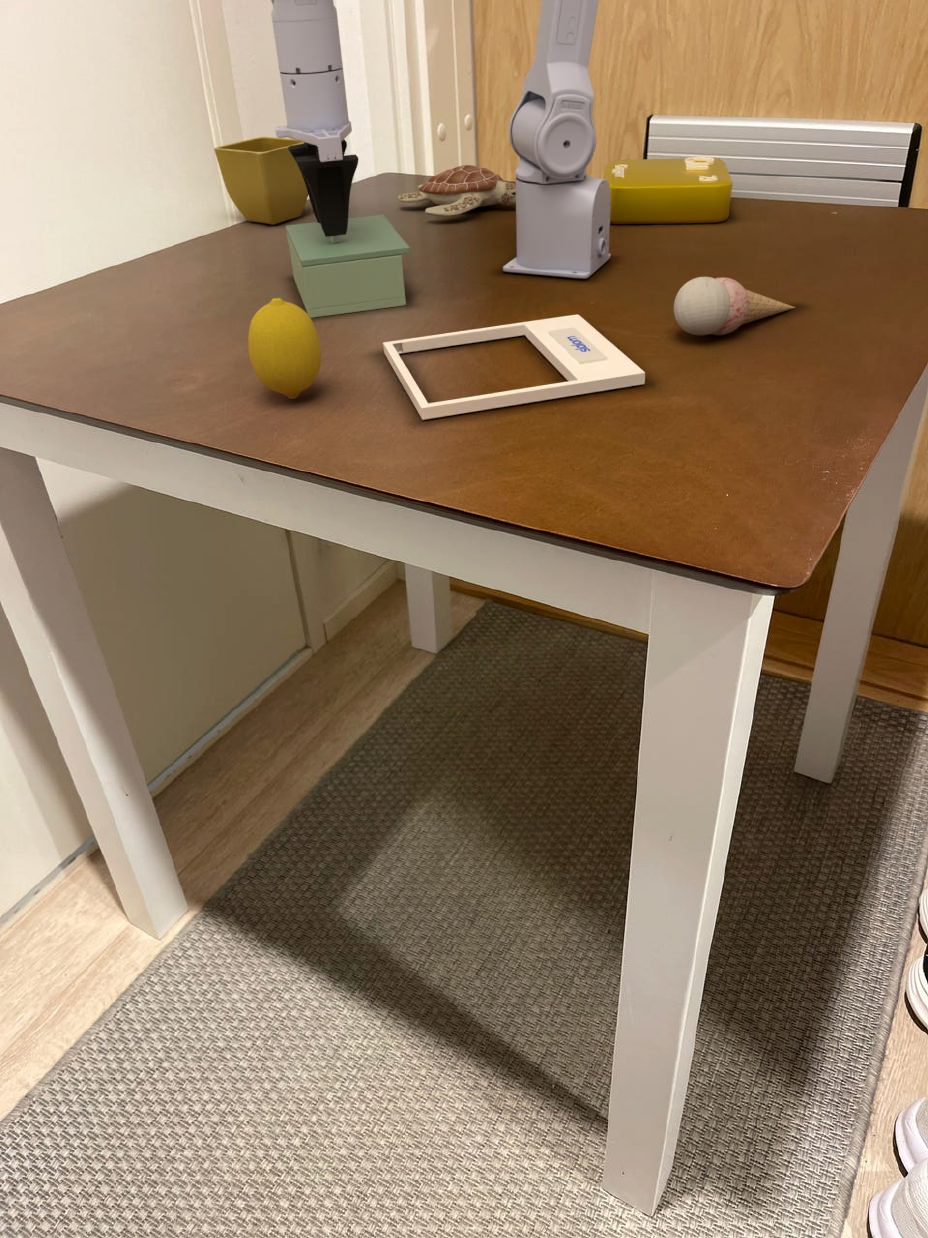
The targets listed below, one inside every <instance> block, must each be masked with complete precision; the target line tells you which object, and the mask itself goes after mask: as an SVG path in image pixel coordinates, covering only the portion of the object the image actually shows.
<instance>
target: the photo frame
mask: <svg viewBox="0 0 928 1238" xmlns="http://www.w3.org/2000/svg"><path fill="white" fill-rule="evenodd" d="M519 336H525V337H526V338H527V340H528V341H530V343H531V344H532V345H533V346H534V347H535V348H536V349H537V350H538V351H539V353H541V354H542V355H543V356H544V357H545V358H546V360H548V362H550V363H551V365H552V366H553V367H554V368H555V369H556V370H557V371H558V372H559V373H560V374H561V375H562V377H564V378H565V380H567V381H563V382H555V383H550V384H543V385H536V386H531V387H524V388H518V389H511V390H505V391H500V392H499V391H498V392H492V393H486V394H485V393H484V394H480V395H473V396H468V397H460V398H455V399H449V400H442V401H441V400H440V401H435V402H428V401H427V399H426V397H425V396H424V394H423V392H422V391H421V389H420V388H419V385H418V384H417V383H416V381H415V379H414V377H413V376H412V374H411V373H410V371H409V369H408V367H407V366H406V364H405V362H404V361H403V359H402V357H401V356H400V354H405V353H411V352H419V351H426V350H433V349H439V348H445V347H451V346H458V345H459V346H460V345H466V344H472V343H479V342H487V341H493V340H500V339H507V338H513V337H519ZM382 345H383V346H382V347H383V353H384V355H385V357H386V359H387V361H388V363H389V364H390V366H391V367H392V370H393V371H394V373H395V375H396V376H397V378H398V380H399V381H400V383H401V385H402V387H403V389H404V390H405V392H406V395H408V398H409V399H410V401H411V402H412V405H413V406H414V408H415V410H416V411H417V413H418V414H419V416H420V419H421V420H422V421H424V420H430V419H436V418H442V417H449V416H454V415H460V414H466V413H473V412H478V411H486V410H492V409H499V408H504V407H509V406H517V405H523V404H529V403H534V402H542V401H547V400H553V399H554V400H555V399H559V398H566V397H572V396H577V395H585V394H591V393H596V392H597V393H599V392H604V391H609V390H615V389H622V388H627V387H628V388H629V387H632V386H634V387H635V386H640V385H645V383H646V372H645V371H644V370H643V369H642V368H640V366H638V365H637V364H636V363H635V362H634V361H632V359H630V358H629V357H628V356H627V355H626V354H624V352H623V351H621V350H620V349H618V348H617V346H616V345H614V344H613V343H612V342H611V341H610V340H608V338H606V337H605V336H604V335H602V334H601V333H600V331H598V330H597V329H596V328H595V327H593V326H592V325H591V324H590V323H589V322H588V321H587V320H586V319H584V318H583V317H582V316H581V315H579V314H571V315H563V316H557V317H551V318H543V319H542V318H541V319H536V320H530V321H522V322H516V323H508V324H501V325H495V326H489V327H481V328H474V329H473V328H472V329H467V330H460V331H453V332H447V333H440V334H439V333H438V334H432V335H425V336H419V337H412V338H404V339H398V340H397V339H396V340H391V341H383V342H382Z"/></svg>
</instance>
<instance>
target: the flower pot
mask: <svg viewBox="0 0 928 1238" xmlns="http://www.w3.org/2000/svg"><path fill="white" fill-rule="evenodd" d="M299 144H304V142H302V141H298V140H295V139H291V138H286V137H285V138H278V137H273V136H259V137H254V138H249V139H245V140H241V141H237V142H233V143H229V144H224V145H220V146H217V147H214V148H213V150H214V154H215V156H216V160H217V162H218V167H219V170H220V174H221V176H222V180H223V183H224V186H225V188H226V191H227V194H228V195H229V198H230V199H231V201H232V203H233V204H234V206H235V207H236V208H237V210H238V212H239V213H240V214H241V215H242V216H243V217H244V218H245V220H247V221H248V222H253V223H261V224H268V225H273V226H274V225H277V224H279V223H282V222H286V221H290V220H293V219H297V218H299V217H300V216H301V215H302V213H303V211H304V209H305V206H306V204H307V201H308V198H309V195H308V192H307V188H306V185H305V182H304V179H303V177H302V174H301V172H300V169H299V167H298V165H297V163H296V161H295V159H294V158H293V156H292V154H291V153H290V151H289V150H288V147H289V146H292V145H299Z"/></svg>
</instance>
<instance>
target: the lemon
mask: <svg viewBox="0 0 928 1238" xmlns="http://www.w3.org/2000/svg"><path fill="white" fill-rule="evenodd" d="M248 328H249V329H248V335H247V336H248V337H247V338H248V339H247V347H248V348H247V349H248V357H249V360H250V364H251V367H252V369H253V371H254V374H255V375H256V377H257V378H258V380H259V381H260V382H261V383H262V384H263V385H264V386H265V387H267V388H268V389H270V390H271V391H273V392H275V393H278V394H283V395H284V396H285V397H287V398H288V399H291V400H293V399H297V398H298V397H299V396H300V394H301V393H302V391H305V390H307V389H308V388H309V387H311V385H312V384H313V383H314V382H315V381H316V380H317V377H318V376H319V372H320V370H321V367H322V366H321V365H322V346H321V341H320V338H319V335H318V332H317V331H318V330H317V328H316V327H315V324H314V322H313V319H312V318H310V317H309V316H308V314H307V311H306V310H303V308H301V307H300V306H298V305H296V304H295V303H292V302H288V301H284V300H283V299H282V298H281V297H274V298H272V299H271V300H270V301H269V303H266V304H265V305H263V306H262V307H261V308H259V309H258V310H257V311H256V312H255V314H254V315H253V317H252V319H251V321H250V324H249V327H248Z"/></svg>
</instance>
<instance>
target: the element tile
mask: <svg viewBox="0 0 928 1238" xmlns="http://www.w3.org/2000/svg"><path fill="white" fill-rule="evenodd" d="M603 179H605V180H607V181H608V183H609V187H610V194H611V208H610V225H612V224H613V225H662V224H664V225H665V224H668V225H669V224H671V225H672V224H673V225H674V224H716V223H722V222H725V221H727V220H728V218H729V216H730V208H731V200H732V194H733V193H732V191H733V180H732V177H731V175H730V172H729V170H728V167H727V163H726V162H725V161H724V160H723V159H721V158H720V157H711V156H690V157H685V158H649V159H647V158H646V159H644V158H643V159H642V158H641V159H613V160H610V161H608V162H607V163H605V165H604V170H603Z"/></svg>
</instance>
